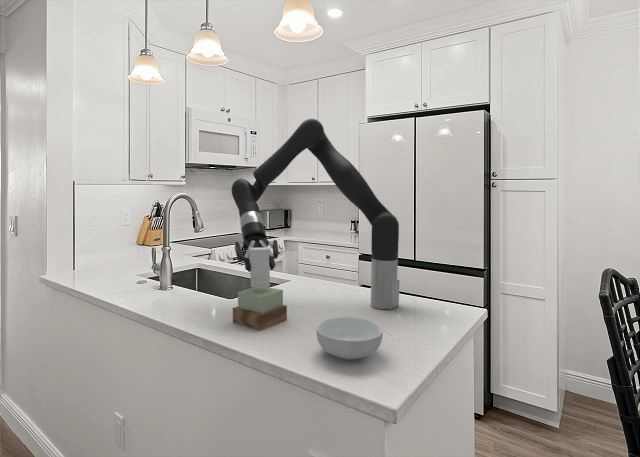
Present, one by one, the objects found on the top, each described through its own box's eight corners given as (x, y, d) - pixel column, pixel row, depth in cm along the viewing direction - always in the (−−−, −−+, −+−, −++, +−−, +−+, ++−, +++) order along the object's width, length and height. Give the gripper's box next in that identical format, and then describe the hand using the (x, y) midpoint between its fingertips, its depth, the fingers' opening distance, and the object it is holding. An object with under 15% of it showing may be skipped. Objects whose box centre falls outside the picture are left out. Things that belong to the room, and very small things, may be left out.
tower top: (282, 305, 129) (282, 290, 129) (262, 313, 121) (262, 297, 121) (259, 300, 135) (259, 285, 134) (238, 307, 127) (237, 292, 126)
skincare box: (269, 283, 130) (269, 246, 129) (270, 287, 126) (269, 249, 124) (250, 284, 129) (250, 247, 128) (250, 288, 125) (249, 249, 124)
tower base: (286, 320, 129) (286, 305, 129) (260, 331, 120) (260, 315, 119) (260, 313, 136) (259, 299, 136) (232, 323, 127) (232, 308, 126)
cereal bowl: (308, 363, 98) (308, 335, 98) (325, 338, 114) (325, 314, 114) (377, 372, 94) (378, 343, 93) (385, 345, 110) (386, 319, 109)
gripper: (232, 221, 129) (239, 264, 120) (275, 220, 135) (285, 261, 125) (229, 235, 135) (236, 277, 125) (271, 233, 140) (281, 274, 131)
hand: (261, 269), depth 125 cm, fingers closed on skincare box, 6 cm apart
